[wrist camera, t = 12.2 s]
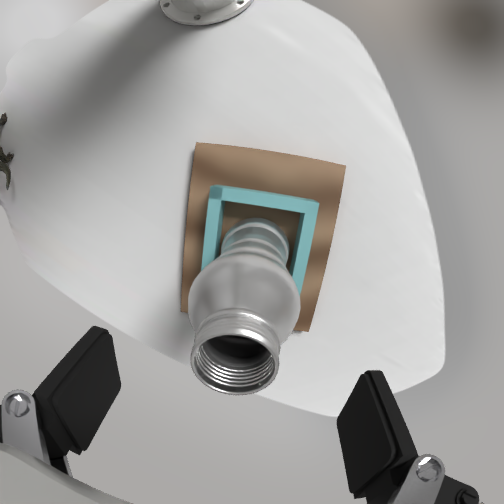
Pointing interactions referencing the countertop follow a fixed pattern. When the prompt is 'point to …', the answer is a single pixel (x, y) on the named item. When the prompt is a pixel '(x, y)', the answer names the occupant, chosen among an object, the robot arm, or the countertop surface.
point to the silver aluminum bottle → (243, 309)
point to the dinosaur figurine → (5, 159)
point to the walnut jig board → (263, 211)
